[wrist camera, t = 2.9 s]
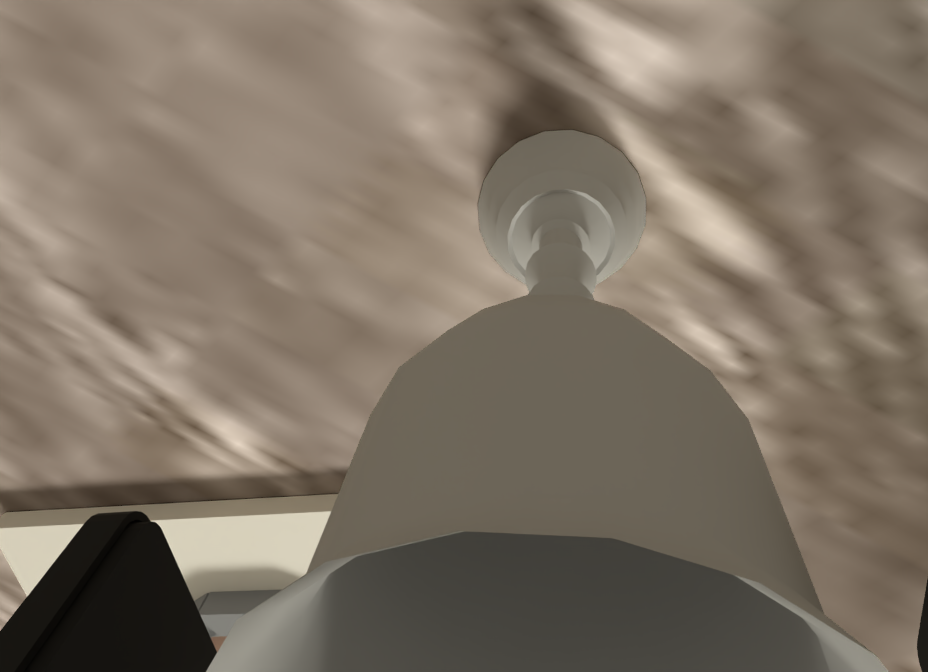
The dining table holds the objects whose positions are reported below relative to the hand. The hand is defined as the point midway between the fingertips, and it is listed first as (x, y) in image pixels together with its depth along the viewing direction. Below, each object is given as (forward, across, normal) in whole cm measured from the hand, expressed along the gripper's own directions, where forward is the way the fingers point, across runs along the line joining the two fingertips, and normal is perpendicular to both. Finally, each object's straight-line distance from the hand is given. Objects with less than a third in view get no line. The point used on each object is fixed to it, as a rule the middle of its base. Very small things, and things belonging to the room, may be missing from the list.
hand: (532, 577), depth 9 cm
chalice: (+16, 0, +1) cm, 16 cm away
